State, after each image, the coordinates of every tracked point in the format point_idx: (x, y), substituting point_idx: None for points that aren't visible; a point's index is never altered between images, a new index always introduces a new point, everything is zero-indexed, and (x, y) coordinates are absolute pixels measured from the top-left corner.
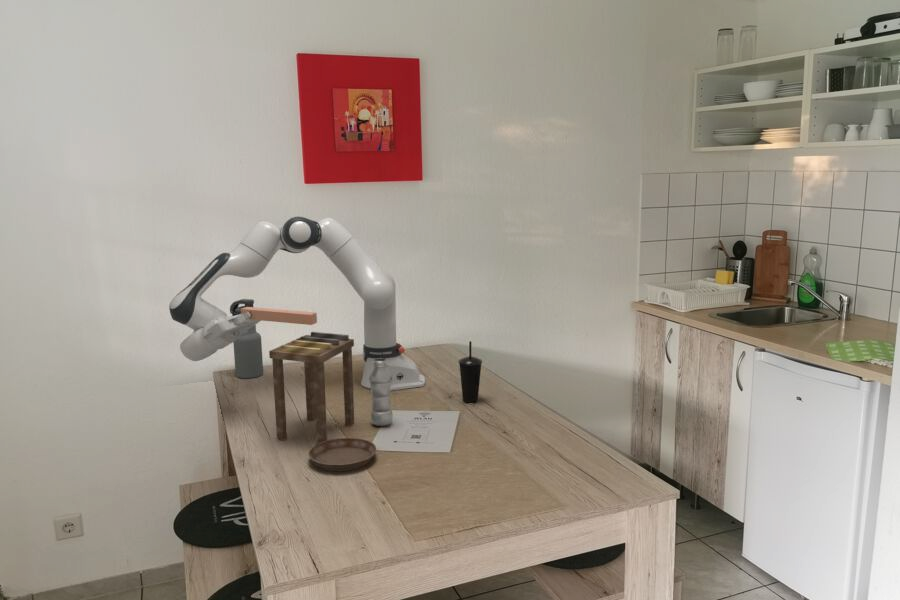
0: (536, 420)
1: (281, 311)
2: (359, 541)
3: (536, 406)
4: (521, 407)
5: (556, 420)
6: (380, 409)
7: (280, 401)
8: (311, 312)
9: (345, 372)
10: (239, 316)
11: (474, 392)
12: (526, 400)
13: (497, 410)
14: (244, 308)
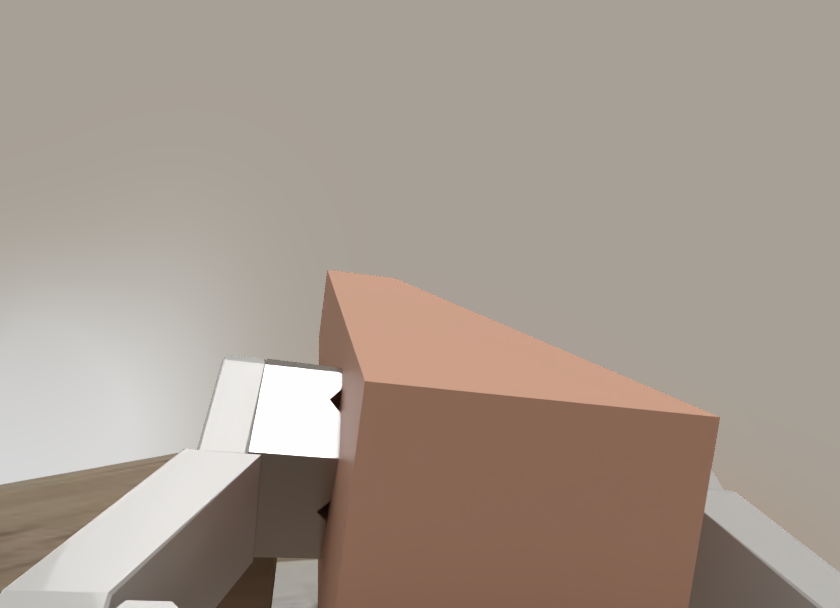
0: (112, 485)
1: (403, 292)
2: None
3: (5, 486)
4: (11, 501)
5: (110, 469)
6: None
7: None
8: (335, 271)
9: (276, 561)
10: (817, 579)
11: None
12: None
13: (33, 527)
14: (591, 390)
